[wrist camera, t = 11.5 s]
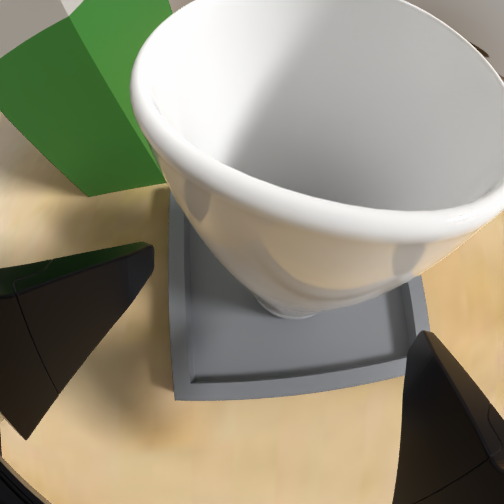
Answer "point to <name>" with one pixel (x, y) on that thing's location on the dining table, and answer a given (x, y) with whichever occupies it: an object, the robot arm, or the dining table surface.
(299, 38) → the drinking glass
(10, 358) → the robot arm
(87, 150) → the hardback book
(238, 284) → the serving tray
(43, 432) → the dining table surface
